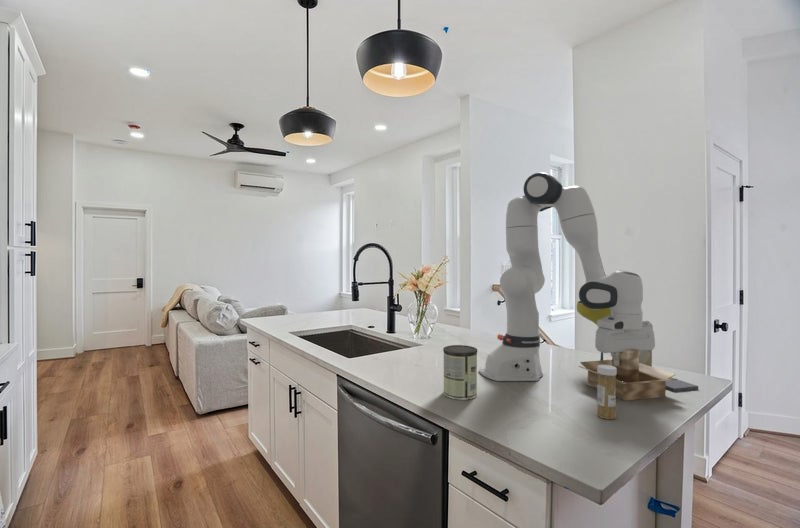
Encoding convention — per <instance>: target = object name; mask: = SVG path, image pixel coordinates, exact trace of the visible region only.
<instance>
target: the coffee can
mask: <svg viewBox="0 0 800 528" xmlns="http://www.w3.org/2000/svg"><path fill="white" fill-rule="evenodd" d="M442 352H443V391H442V392H443V393H442V394H443V395H444V397H446V396H447V397H446V398H448V397H449V398H448V399H450V398H452V399H451V400H455V399H458V400H457V401H469V400H468V399H470V400H473V399H476V398H477V396H478V394H477V391H478V389H477V388H478V387H477V386H478V382H477V381H478V380H477V379H478V378H477V377H478V370H477V369H478V360H477V359H478V357H477V356H478V348H476V347H475V346H471V345H464V344H453V345H447V346H444V347H443V349H442ZM472 398H473V399H472Z"/></svg>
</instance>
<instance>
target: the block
mask: <svg viewBox="0 0 800 528" xmlns="http://www.w3.org/2000/svg"><path fill="white" fill-rule="evenodd" d="M618 358H619V360H622V363H621V364H622V365H621V366H615V365H614V359H613V358H612V357H611V360H612V366H614V367H616V368H617V375H616V379H618V380H621V381H623V382H624V383H630V382H639V350H637V349H630V350H624V352H619V355H618Z"/></svg>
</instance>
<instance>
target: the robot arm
mask: <svg viewBox="0 0 800 528" xmlns="http://www.w3.org/2000/svg"><path fill="white" fill-rule="evenodd" d="M523 194H524V195H522V196H517V197H515V198H512V199H511V200H510V201H509V202H508V204H507V208H506V214H505V242H506V243H505V245H506V252H507V254H508V257H509V260H510V264H511V267H509V268H508V269H506V270H505V271H504V272H503V273H502V274H501V276H500V279H499V286H500V289H501V290H502V292H503V297H504V302H505V309H506V333H505V334H504V335H502V334H501V333H498V334H497V340H499V341H502V343H501V344H500V345H498V346H497V347H496V348H495V349H494V350H492V352H490V353H489V354H487V356H486V360H485V366H483V367H479V369H478V370H479V371H478V372H479V374H481V375H482V376H484V377H485V378H487V379H489V380H493V381H496V382H528V381H530V382H534V381H535V382H536V381H540V378H541V377H543V376H544V374H543V373H544V372H543V370H542V366H541V360H540V359H541V358H540V345H541V340H540V339H541V338H540V337H541V336H540V333H539V332H540V330H539V329H540V328H539V327H540V326H539V324H540V323H539V322H540V317H539V316H540V313H539V311H538V308H537V302H536V294H537V293H538V292H540V291H541V290H542V289H543V287H544V285H545V282H546V280H545V279H546V278H545V274H544V273H543V266H542V262H541V256H540V255H541V254H540V250H539V249H540V248H539V232H538V231H539V230H538V229H539V228H538V225H539V224H538V214H539V212H543V211H546V210H548V209H551V208H554V209H555V210H556V212H557V216H558V219H559V224H560V227H561V230H562V231H561V232H562V234H563V235H564V238H565V240H566V242H567V243H568V244H569V245H570V246H571V247H572V248H573V249H574V250H575V251H576V253H577V254H578V256H579V259H580V261H581V265H582V270H583V274H584V277H585V283H584V284H583V285H581V287H580V289H579V291H578V299H579V301H581V303H582V304H583V305H584V306H586V307H587V308H590V309H594V310H598V309H604V308H610V309H611V315H608V316H606V317H604V318H602V319H599V320H598V321H597V325H596V326H597V327H599V328H597V330H596V332H595V341H594V342H595V343H594V345H595V349H596V350H597V351H598V352H600V353H601V352H603V354H608V353H609V354H610V356H611V359H612V358H613V359H614V365H615V366H621V365H622V364H621V363H622V360H619V358H618V355H619V352H624V350H630V349H637V350H639V355H640V351H644V350H652V351H653V350H654V349H655V348H656V339H655V331H654V328H653V324H652V322H650V321H648V320H643V315H644V314H643V309H642V303H643V301H644V288H643V286H644V285H643V280H642V277H640V275H638V274H637V273H635V272H632V271H628V270H627V271H626V270H621V269H620V270H619V269H617V270H614V271H613V272H611V273H609V274H607V275H606V273H605V269H604V266H603V262H602V257H601V255H600V251H599V232H598V221H597V216H596V213H595V209H594V207H593V203H592V200H591V198H590V196H589V194H588V192H587V190H586V189H585V188H584V187H582V186H580V185H571V186H568V187H564V186H563V185H562V183H561V182H560V181H559V180H558V179H557V177H554V176H553V175H551V174H549V173H548V172H542V171H541V172H535V173H533V174H531V175H529V176H528V177H527V179H526V180H525V182H524V184H523Z"/></svg>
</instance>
